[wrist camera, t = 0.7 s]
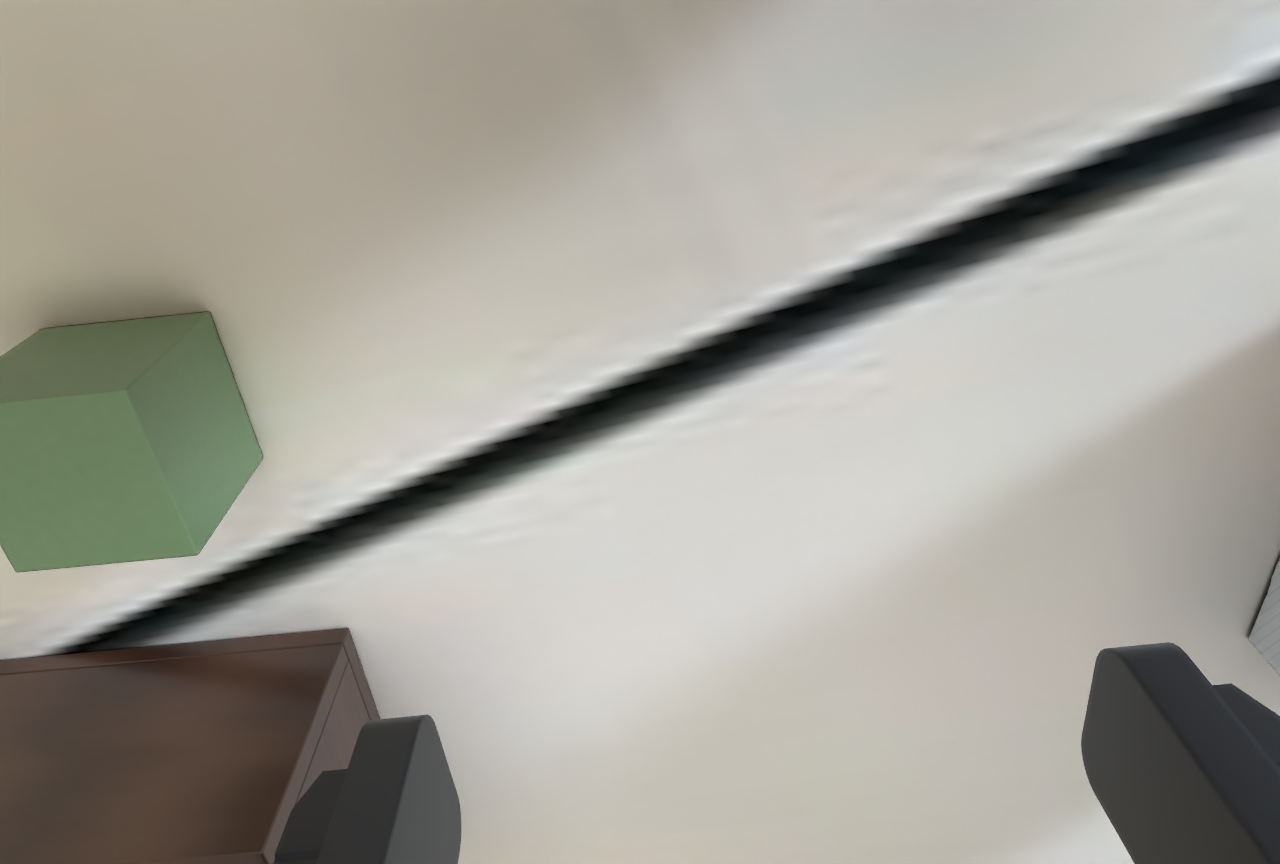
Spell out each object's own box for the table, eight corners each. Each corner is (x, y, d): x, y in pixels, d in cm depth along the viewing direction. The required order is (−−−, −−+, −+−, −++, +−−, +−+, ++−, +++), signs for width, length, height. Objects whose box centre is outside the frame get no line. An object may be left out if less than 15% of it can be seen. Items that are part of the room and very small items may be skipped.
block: (40, 328, 25) (-80, 410, 21) (209, 310, 25) (125, 389, 21) (109, 473, 28) (15, 573, 23) (264, 458, 28) (198, 556, 23)
